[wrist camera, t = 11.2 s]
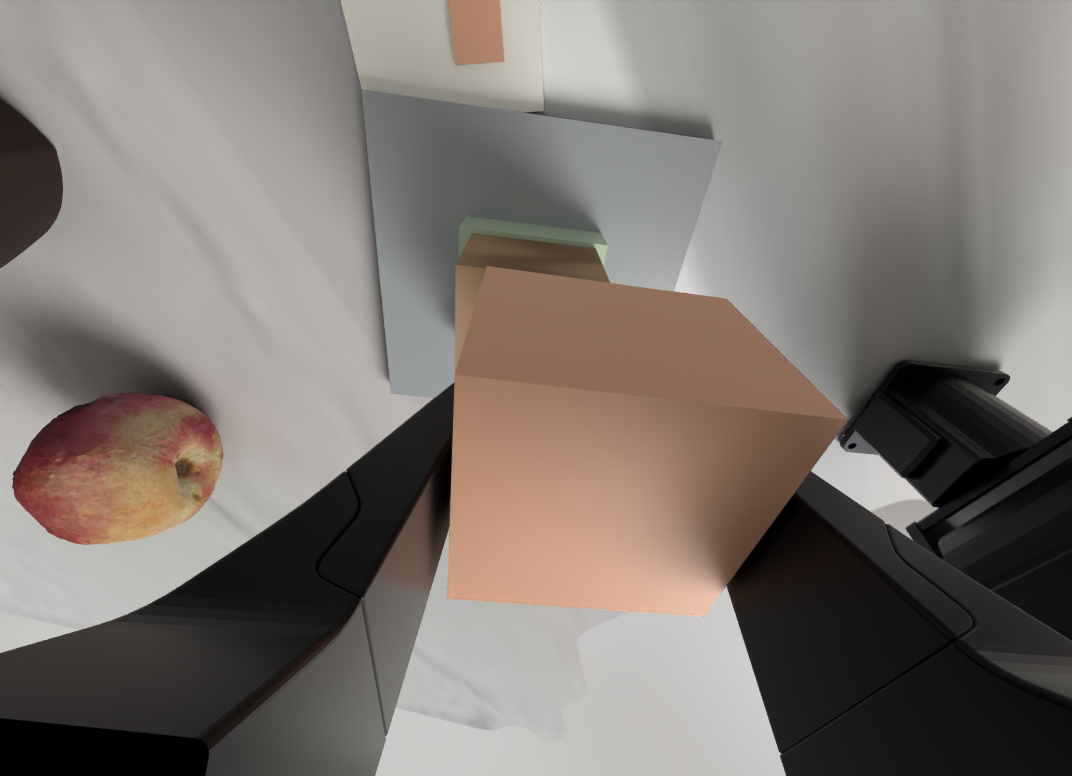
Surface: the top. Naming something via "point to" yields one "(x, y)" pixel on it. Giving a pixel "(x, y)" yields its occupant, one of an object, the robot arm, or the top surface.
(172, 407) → the fruit
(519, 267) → the brown block
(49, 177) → the cup
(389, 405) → the top surface
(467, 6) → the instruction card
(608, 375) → the brick terracotta
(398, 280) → the plate
